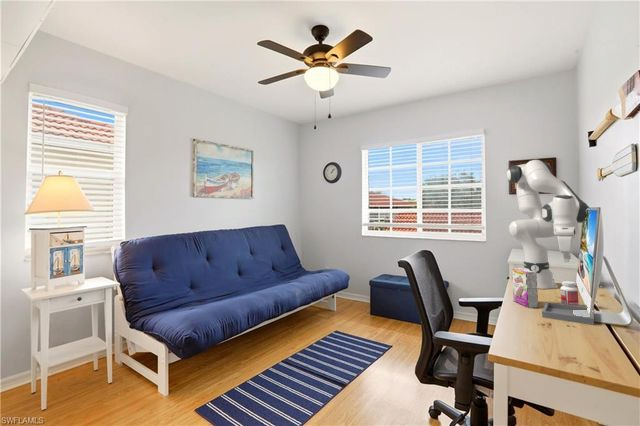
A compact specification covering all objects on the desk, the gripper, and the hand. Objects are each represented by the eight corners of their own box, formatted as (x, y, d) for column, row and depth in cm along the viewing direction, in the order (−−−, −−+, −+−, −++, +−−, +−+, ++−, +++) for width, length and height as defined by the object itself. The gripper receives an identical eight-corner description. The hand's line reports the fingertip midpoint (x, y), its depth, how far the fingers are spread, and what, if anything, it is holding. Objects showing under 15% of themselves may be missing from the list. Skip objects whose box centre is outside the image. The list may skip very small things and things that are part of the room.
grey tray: (546, 307, 138) (546, 302, 138) (593, 313, 127) (593, 307, 127) (542, 317, 126) (542, 311, 126) (594, 325, 116) (593, 318, 116)
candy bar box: (512, 301, 149) (511, 268, 149) (523, 301, 149) (521, 267, 149) (528, 308, 138) (526, 272, 138) (539, 307, 138) (537, 271, 138)
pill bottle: (581, 306, 137) (579, 282, 137) (576, 309, 134) (574, 284, 134) (564, 303, 142) (562, 280, 142) (559, 306, 139) (557, 282, 139)
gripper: (558, 229, 148) (560, 257, 148) (555, 231, 133) (556, 263, 133) (575, 228, 144) (577, 257, 144) (573, 231, 129) (575, 264, 129)
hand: (567, 260), depth 138 cm, fingers open, 8 cm apart
